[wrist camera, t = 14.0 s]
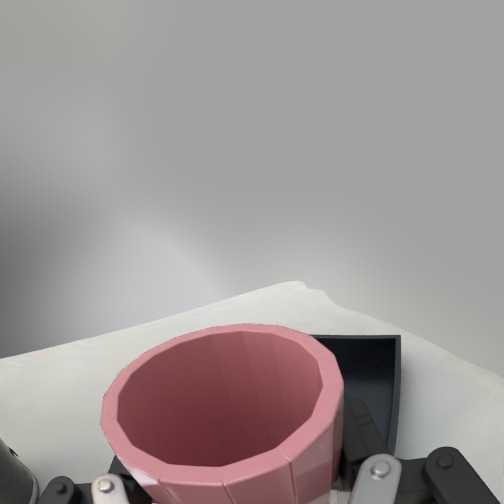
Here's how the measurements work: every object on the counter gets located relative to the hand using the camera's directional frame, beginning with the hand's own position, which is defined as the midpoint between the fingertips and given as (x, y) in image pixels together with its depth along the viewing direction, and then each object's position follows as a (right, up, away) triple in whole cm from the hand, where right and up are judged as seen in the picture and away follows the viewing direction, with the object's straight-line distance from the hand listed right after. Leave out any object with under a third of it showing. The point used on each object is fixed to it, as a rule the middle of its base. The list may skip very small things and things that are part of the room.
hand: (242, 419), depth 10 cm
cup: (+1, -6, -1) cm, 6 cm away
